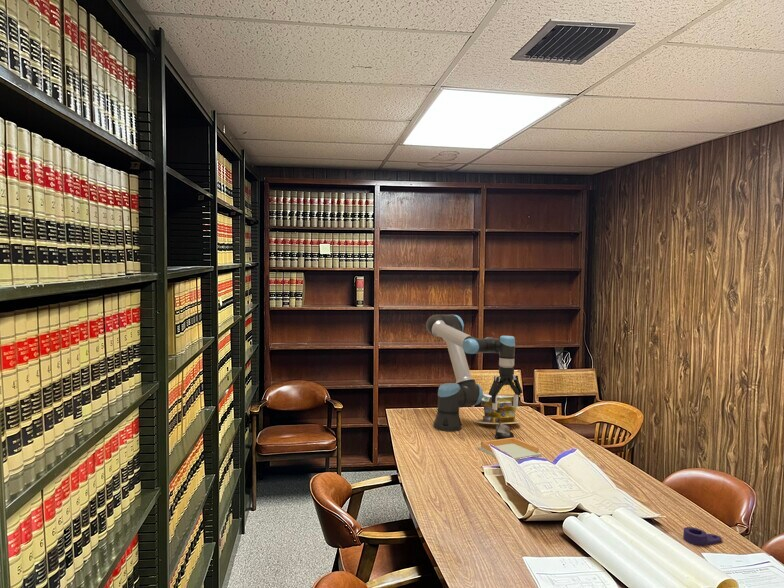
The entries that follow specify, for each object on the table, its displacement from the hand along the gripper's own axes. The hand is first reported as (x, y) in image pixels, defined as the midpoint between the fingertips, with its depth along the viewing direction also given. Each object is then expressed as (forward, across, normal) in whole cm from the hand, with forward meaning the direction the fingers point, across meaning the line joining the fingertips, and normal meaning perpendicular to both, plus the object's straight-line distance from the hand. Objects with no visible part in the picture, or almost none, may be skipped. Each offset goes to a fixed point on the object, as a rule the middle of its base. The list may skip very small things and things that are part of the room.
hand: (505, 408), depth 265 cm
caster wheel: (+16, 0, 0) cm, 16 cm away
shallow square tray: (+16, -12, -18) cm, 27 cm away
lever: (+18, -13, -108) cm, 111 cm away
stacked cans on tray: (+16, +16, +24) cm, 33 cm away
